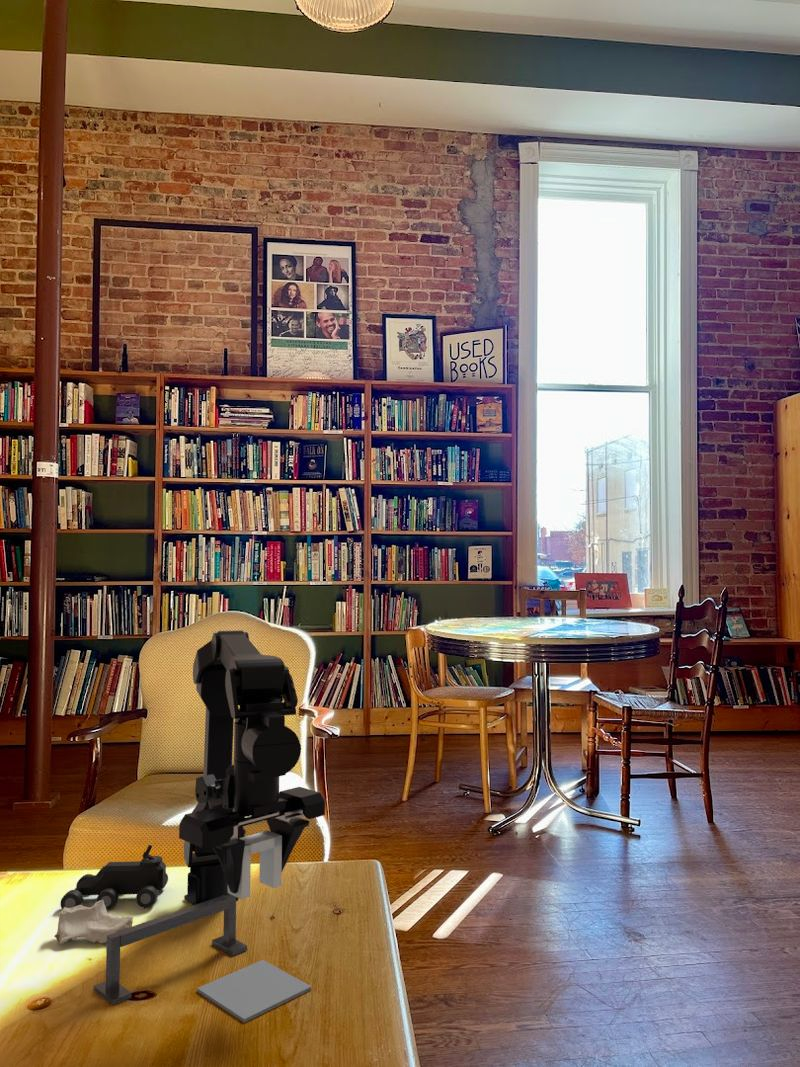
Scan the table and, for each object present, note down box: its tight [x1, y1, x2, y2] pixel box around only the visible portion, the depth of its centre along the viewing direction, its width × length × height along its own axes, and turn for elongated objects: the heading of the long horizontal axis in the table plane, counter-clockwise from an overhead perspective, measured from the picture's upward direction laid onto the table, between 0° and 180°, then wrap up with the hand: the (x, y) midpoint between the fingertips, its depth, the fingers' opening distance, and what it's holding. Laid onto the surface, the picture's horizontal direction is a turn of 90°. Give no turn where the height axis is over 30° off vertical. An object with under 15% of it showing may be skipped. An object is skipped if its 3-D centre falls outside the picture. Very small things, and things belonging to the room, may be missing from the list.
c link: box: [228, 829, 283, 900], centre depth 96 cm, size 3×6×6 cm, turn 137°
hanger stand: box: [93, 894, 248, 1006], centre depth 101 cm, size 19×5×7 cm, turn 137°
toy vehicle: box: [59, 844, 169, 911], centre depth 123 cm, size 8×15×9 cm, turn 93°
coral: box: [54, 900, 134, 945], centre depth 110 cm, size 6×10×4 cm, turn 104°
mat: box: [196, 959, 312, 1024], centre depth 95 cm, size 10×10×1 cm
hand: (255, 885), depth 96 cm, fingers closed on c link, 6 cm apart
